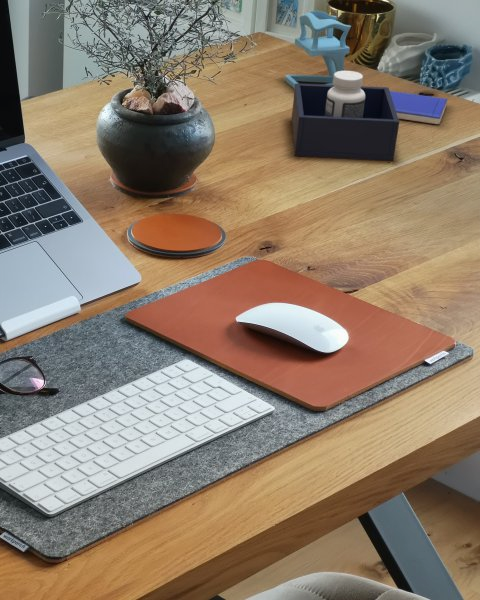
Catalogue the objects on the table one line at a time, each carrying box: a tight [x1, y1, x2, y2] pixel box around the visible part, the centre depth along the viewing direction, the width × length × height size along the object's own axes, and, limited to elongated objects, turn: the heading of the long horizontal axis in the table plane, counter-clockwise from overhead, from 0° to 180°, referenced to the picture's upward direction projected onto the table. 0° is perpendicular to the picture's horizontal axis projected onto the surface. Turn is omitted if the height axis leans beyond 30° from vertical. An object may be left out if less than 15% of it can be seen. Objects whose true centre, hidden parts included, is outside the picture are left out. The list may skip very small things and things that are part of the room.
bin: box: [291, 83, 400, 162], centre depth 158 cm, size 13×13×6 cm
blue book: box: [389, 90, 448, 125], centre depth 169 cm, size 2×8×12 cm
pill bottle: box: [325, 70, 365, 118], centre depth 157 cm, size 5×5×9 cm
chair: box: [284, 10, 352, 90], centre depth 175 cm, size 8×8×12 cm
